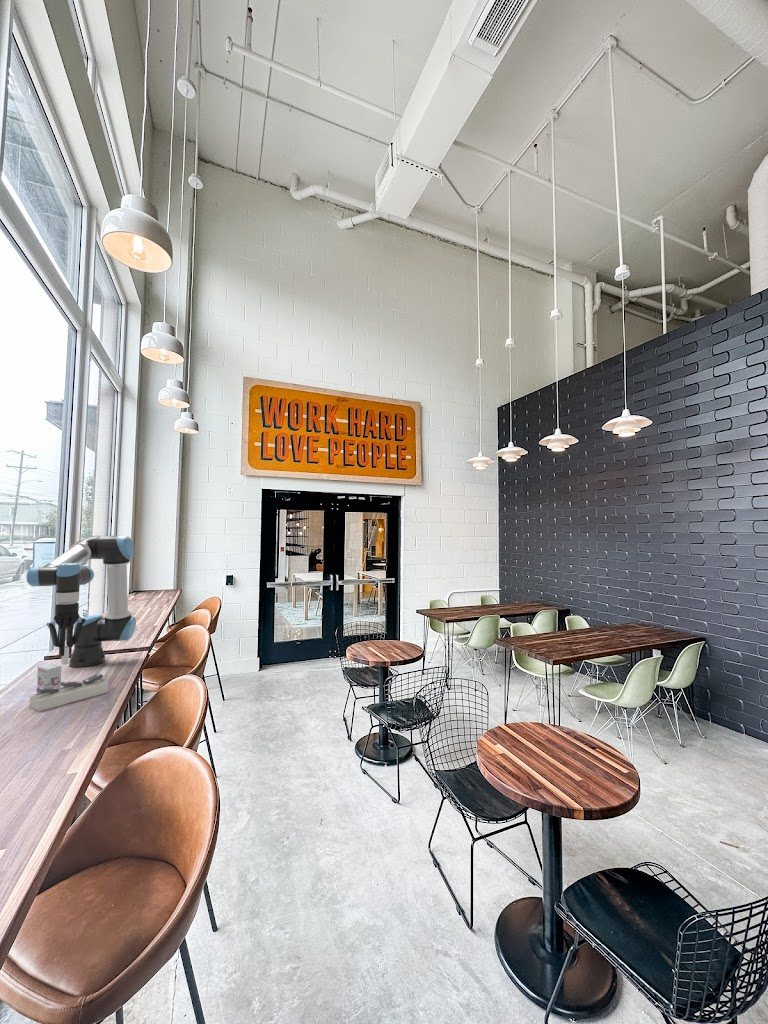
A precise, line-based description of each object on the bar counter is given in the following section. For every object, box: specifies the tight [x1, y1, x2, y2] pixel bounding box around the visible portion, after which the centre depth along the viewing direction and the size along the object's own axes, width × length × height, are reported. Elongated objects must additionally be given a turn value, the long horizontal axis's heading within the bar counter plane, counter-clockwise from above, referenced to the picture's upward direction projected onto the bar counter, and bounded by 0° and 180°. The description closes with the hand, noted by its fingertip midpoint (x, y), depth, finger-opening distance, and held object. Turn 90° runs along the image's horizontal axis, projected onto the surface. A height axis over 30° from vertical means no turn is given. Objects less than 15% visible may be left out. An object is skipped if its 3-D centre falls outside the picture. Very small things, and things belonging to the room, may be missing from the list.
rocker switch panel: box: [29, 678, 109, 712], centre depth 176 cm, size 24×8×5 cm, turn 147°
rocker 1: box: [35, 687, 59, 693], centre depth 169 cm, size 6×4×1 cm, turn 147°
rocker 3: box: [82, 672, 104, 685], centre depth 183 cm, size 6×4×1 cm, turn 147°
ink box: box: [36, 662, 62, 694], centre depth 180 cm, size 9×5×12 cm, turn 62°
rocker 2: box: [61, 681, 82, 687], centre depth 176 cm, size 6×4×1 cm, turn 147°
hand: (64, 663), depth 174 cm, fingers closed
